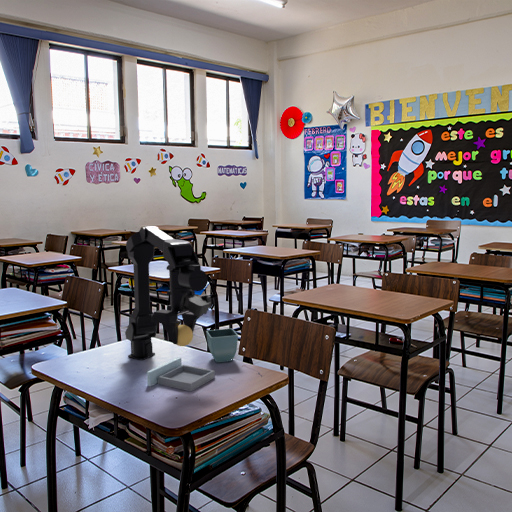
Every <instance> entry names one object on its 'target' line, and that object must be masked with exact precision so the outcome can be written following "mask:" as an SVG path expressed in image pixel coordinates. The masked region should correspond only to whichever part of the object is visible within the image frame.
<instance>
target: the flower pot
mask: <svg viewBox="0 0 512 512" xmlns="http://www.w3.org/2000/svg"><path fill="white" fill-rule="evenodd" d="M205 333H206V340H207V345H208V349H209V352H210V354H211V356H212V358H213V359H214V361H215V363H216V364H217V363H224V362H232V361H233V360H234V359H235V357H236V353H237V349H238V342H239V340H238V339H239V335H238V333H237V332H236V331H235V330H234V328H221V329H213V330H212V329H211V330H210V329H209V330H206V331H205ZM231 359H232V360H231Z"/></svg>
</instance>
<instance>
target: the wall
mask: <svg viewBox="0 0 512 512" xmlns="http://www.w3.org/2000/svg"><path fill="white" fill-rule="evenodd" d="M181 365H183V362H182V357H176V358H175V359H172V360H169V361H168V362H165V363H164V364H161V365H159V366H157V367H154V368H152V369H150V370H148V371H146V372H147V379H146V380H147V387H152V386H154V385H156V384H158V377H159V376H161V375H163V374H165V373H167V372H169V371H171V370H173V369H175V368H177V367H179V366H181Z"/></svg>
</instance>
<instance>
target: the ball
mask: <svg viewBox="0 0 512 512" xmlns="http://www.w3.org/2000/svg"><path fill="white" fill-rule="evenodd" d="M193 338H194V331H193V332H192V330H191V328H190V327H188V326H186V325H184V324H179V326H178V343H177V344H176V346H178V347H186V346H188V345H190V344H191V342H192V341H193Z"/></svg>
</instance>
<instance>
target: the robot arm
mask: <svg viewBox="0 0 512 512" xmlns="http://www.w3.org/2000/svg"><path fill="white" fill-rule="evenodd" d="M125 248H126V251H127V256H128V259H129V260H130V261H131V263H132V264H133V289H134V290H133V296H134V309H133V311H132V312H131V314H130V316H129V323H128V325H127V327H126V330H125V332H124V333H125V334H124V335H125V339H126V340H128V341H129V342H130V352H131V353H130V354H128V355H127V357H128V358H131V359H137V360H142V361H144V360H145V359H147V358H150V357H153V356H155V355H156V353H155V352H153V342H152V338H156V335H157V329H158V324H161V325H162V327H163V328H164V330H165V332H166V333H167V335H168V337H169V338H170V340H171V342H172V344H173V345H176V344H177V343H178V326H179V325H181V323H182V321H183V325H186V326H188V327H190V328H191V330H192V332H193V333H194V330H195V328H196V327H195V326H196V324H197V321H198V320H199V318H201V317H203V316H204V315H206V314H207V313H208V312H209V308H212V306H213V305H212V298H211V297H212V296H211V295H209V294H205V295H202V297H201V296H197V295H196V292H200V291H203V290H204V289H205V288H206V287H207V285H208V282H209V277H208V275H207V273H206V272H205V270H203V269H202V267H201V265H200V261H199V257H198V255H197V254H196V252H195V251H196V250H195V249H194V247H193V244H192V243H191V242H190V241H187V240H184V239H175V238H173V237H172V236H171V235H169V234H167V233H166V232H164V231H163V230H161V229H160V228H159V226H155V225H153V226H151V225H149V226H143V227H141V228H140V229H139V231H137V232H135V233H133V234H132V235H131V236H130V237H129V238H128V239H127V241H126V243H125ZM156 248H157V249H158V250H159V251H161V252H162V257H163V259H164V260H165V261H166V262H167V264H168V265H166V270H167V271H168V273H169V276H168V277H169V290H166V295H168V296H170V304H169V305H167V309H159V310H156V311H153V310H152V309H151V301H150V300H151V299H150V298H151V297H150V296H151V295H150V293H151V292H150V263H151V262H152V260H153V258H154V256H155V249H156ZM178 316H179V317H180V316H181V318H182V320H179V317H178ZM176 346H177V345H176Z"/></svg>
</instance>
